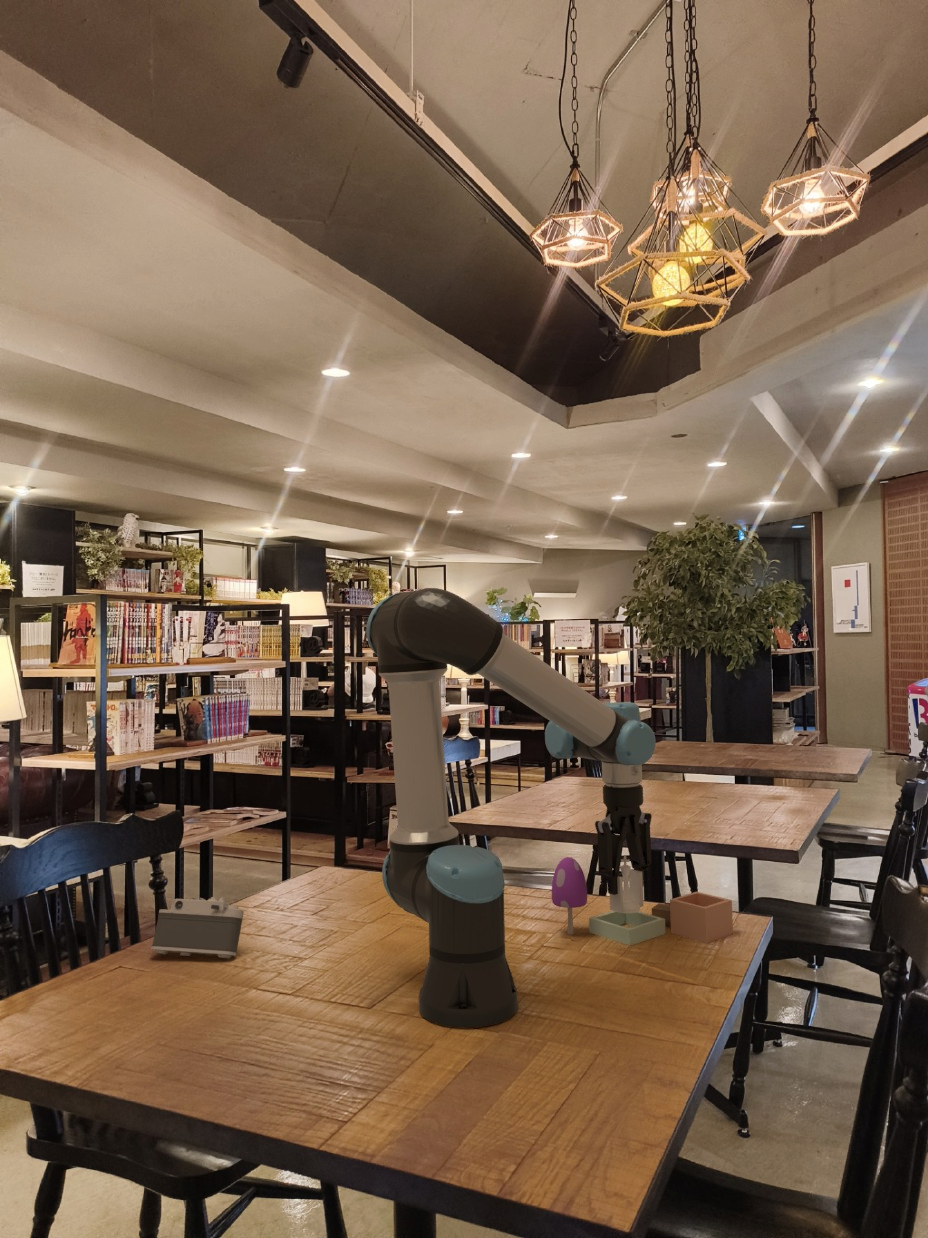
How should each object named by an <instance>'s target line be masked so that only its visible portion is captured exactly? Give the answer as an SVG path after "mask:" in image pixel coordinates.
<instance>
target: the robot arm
mask: <svg viewBox="0 0 928 1238" xmlns="http://www.w3.org/2000/svg"><path fill="white" fill-rule="evenodd" d="M365 634H366V641H367V642H368V645H369V647H370V649H371V650H372V652H373V653H374V654H375V655H376V656H377V668H378V676H380V678H382V679H383V680H384V681H385V682H386V683H387V684H388V696H389V698H388V699H389V710H390V725H391V742H392V756H393V757H392V758H393V769H394V771H393V773H394V785H395V799H396V800H395V802H396V819H397V827H396V828H395V829H394V831H393V832H392V833H391V834H390V835H389V852H388V853H387V854H386V856H385V858H384V861H383V865H382V870H381V875H382V882H383V886H384V889H385V890H386V891H385V892H386V893H387V894H388V896H389V898H390V899H392V901H393V902H394V903H395V904H396V905H397V906H398V907H399V908H401V909H403V911H404V912H406V913H409V914H412V915H414V916H415V917H417V918H419V919H421V920H422V921H424V922H426V923H428V941H429V942H428V945H429V947H428V951H429V957H428V962H427V966H426V969H425V972H424V976H423V981H422V984H421V985H422V986H421V987H420V990H419V993H418V1011H419V1014H420V1015H421V1016H422V1018H424V1019H425V1020H426V1021H429V1022H430V1023H432V1024H437V1025H441V1026H444V1027H448V1028H449V1027H450V1028H458V1029H459V1028H461V1029H470V1028H471V1029H472V1028H481V1027H482V1028H483V1027H489V1026H493V1025H496V1024H499V1023H503V1022H506V1021H507V1020H509V1019H511V1018H512V1017H513V1016H515V1014H516V1013H517V1012H518V1010H519V999H518V998H519V997H518V996H519V994H518V989H517V986H516V984H515V981H514V977H513V974H512V972H511V969H510V965H509V963H508V959H507V957H506V956H507V955H506V944H505V943H506V935H505V933H506V932H505V931H506V929H505V885H506V884H505V883H506V882H505V877H504V870H503V869H504V868H503V863H502V861H501V859H500V857H499V856H498V855H496V853H494V852H492V851H490V850H488V849H486V848H483V847H479V846H476V847H474V846H472V845H466V844H460V836H459V830H458V829H457V828H456V827H455V826H454V825H452V824H451V823H450V820H449V808H448V794H447V777H446V763H445V762H446V761H445V759H446V758H445V749H444V748H445V747H444V746H445V745H444V731H443V717H442V714H443V713H442V703H441V699H442V698H441V687H440V681H441V679H442V677H443V676H444V675H445V674H446V673H447V672H448V665H450V666H452V667H453V668H454V667H455V668H457V669H458V670H459V671H461V672H463V673H465V674H467V675H468V676H475V675H479V676H480V677H482V678H484V679H485V680H487V681H488V682H490V683H492V684H493V685H495V686H496V687H497V688H498V689H501V690H503V692H506V693H507V694H508V695H510V696H511V697H513V698H514V699H516V700H518V701H519V702H521V703H522V704H524V705H525V706H527V707H529V708H530V709H531V710H532V711H534V712H536V713H537V714H539V715H540V716H542V717H543V718H544V719H547V720H549V721H548V723H547V725H546V727H545V731H544V741H545V746H546V749H547V751H548V752H549V754H550V755H551V756H552V757H554V758H555V759H567V760H570V759H573V758H580V759H581V758H582V759H587V760H593V761H600V762H601V775H602V776H601V777H602V779H601V782H603V783H604V785H602V802H603V804H604V805H605V807H606V813H605V818H603V819H602V820H596V821H595V822H594V826H595V830H596V833H597V860H598V862H597V863H598V865H597V866H598V867H597V868H598V873H599V874H601V875H605V876H606V877H607V881H606V882H607V893H608V894H609V911H615V912H619V913H623V912H624V908H623V876H620V871H621V869H620V866H621V864H622V862H621V859H622V854H623V850H624V848H623V846H624V842H625V841H626V846H627V850H628V855H629V859H630V865H631V869H630V872H629V876H628V877H629V878H631V880H632V881H629V889H630V895H631V900H633V902H634V903H637V904H639V905H640V908H643V907H644V887H645V874H644V872H648V870H649V869H650V867H649V866H651V864H652V843H651V842H652V841H651V840H652V839H651V822H652V816H653V815H652V813H648V812H643V811H642V809H641V806H642V805H643V804H644V786H642V785H641V783H642V782H643V767H642V765H644V764H646V763H647V762H649V761H650V759H651V758H652V756H653V755H654V753H655V749H656V746H657V745H656V736H655V735H656V734H655V733H654V730H653V729H652V728H651V727H650V725H648V724H647V723H645V722H643V721H641V720H642V719H641V711H640V707H639V705H638V703H634V702H629V701H627V702H626V701H625V702H624V701H621V702H620V701H619V702H617V701H616V702H604V703H603V702H602V701H600V700H599V699H598V698H596V697H595V696H593V695H592V694H591V693H589V692H587V691H586V690H585V689H583V688H582V687H581V686H579V685H577V684H576V683H575V682H573V681H572V680H570V678H568V677H566V676H564V674H562V673H561V672H559V671H557V670H556V669H555V668H553V667H552V666H550V665H549V664H548V663H547V662H545V661H543V660H541V658H539V657H538V656H536V655H534V653H532V652H530V651H529V650H527V649H526V648H525V647H523V646H521V645H520V644H519V643H517V642H516V641H514V640H513V639H512V638H510V637H509V636H508V635H506V634H505V628H504V625H503V624H502V623H500V622H499V621H497V620H495V619H494V618H493V617H492V616H490V615H488V614H487V613H486V612H484V611H483V610H482V609H480V608H478V607H477V606H475V605H474V604H473V603H471V602H470V601H468V600H466V599H464V598H463V597H461V596H459V595H457V594H455V593H453V592H451V591H449V590H445V589H442V588H439V587H437V588H436V587H427V588H423V589H418V590H411V591H410V590H409V591H402V592H396V593H394V594H392V595H390V596H388V597H386V598H384V599H382V600H381V601H379V602H378V603H377V604H376V605H375V607H374V608H373V609H372V610H371V612H370V614H369V616H368V618H367V622H366V632H365Z"/></svg>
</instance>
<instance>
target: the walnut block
mask: <svg viewBox="0 0 928 1238" xmlns="http://www.w3.org/2000/svg"><path fill="white" fill-rule="evenodd" d="M651 915H653V916H656V917H660V918H664V919H665V928H671V916H670V903H669V904H668V903H660V902H658V903H657V904H655V905H654V906H653V907H651Z"/></svg>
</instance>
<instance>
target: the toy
mask: <svg viewBox="0 0 928 1238" xmlns="http://www.w3.org/2000/svg"><path fill="white" fill-rule="evenodd" d="M551 900H552V904H553V905H554V906H556V907H559V908H566V909H567V934H568V935H569V936H570V935H571V936H572V935H574V932H575V931H574V919H573V909H574V908H575V909H576V908H581V907H584V906H586V905H587V904H588V888H587V880H586V875H585V873H584V871H583V869H582V867H581V865H580V863H579V862H578V861H577V860H576V859H575V858H573V857H572V856H571V857H569V856H567V857H563V858H562V859H561V860H560V861H559V862H558V864H557V866H556V868H555V870H554V873H553V876H552V881H551ZM569 939H571V938H570V937H569Z"/></svg>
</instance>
